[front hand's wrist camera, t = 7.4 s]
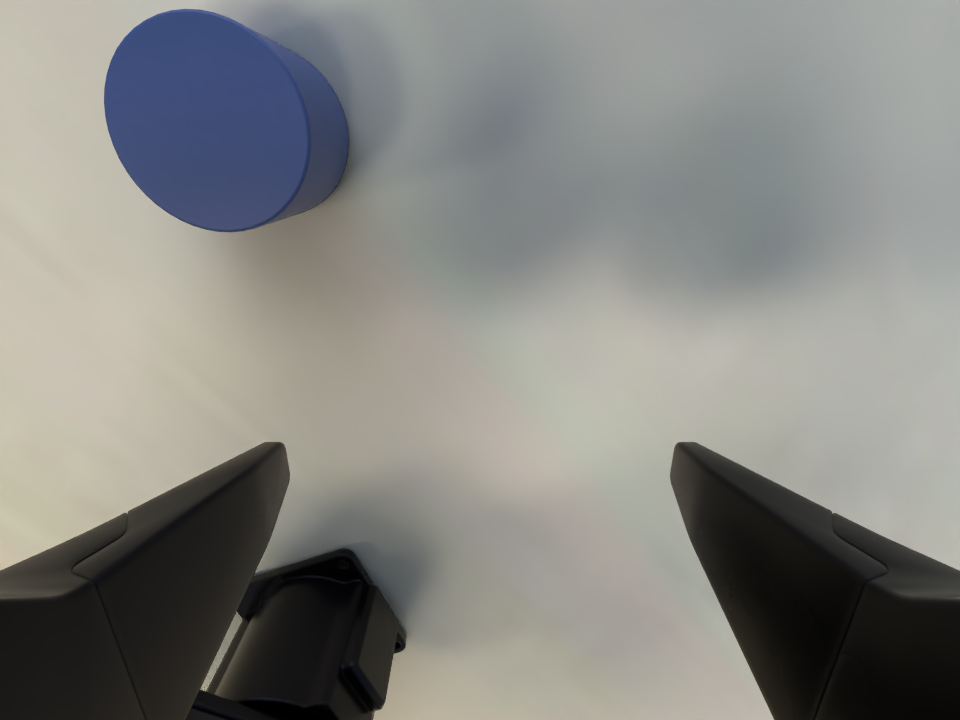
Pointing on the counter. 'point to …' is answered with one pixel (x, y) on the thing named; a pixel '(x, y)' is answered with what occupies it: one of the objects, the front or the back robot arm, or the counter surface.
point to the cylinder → (222, 122)
